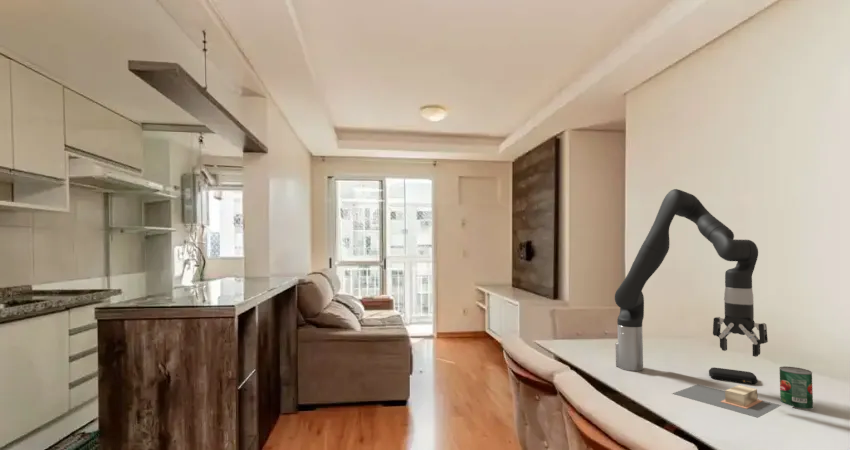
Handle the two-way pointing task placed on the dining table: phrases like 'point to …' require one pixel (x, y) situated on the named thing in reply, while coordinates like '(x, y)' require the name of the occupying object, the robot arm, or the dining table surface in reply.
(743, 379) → the carrying case or bag
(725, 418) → the dining table surface
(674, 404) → the dining table surface
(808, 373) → the canned tomato
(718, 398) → the mat
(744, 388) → the block
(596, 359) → the dining table surface
